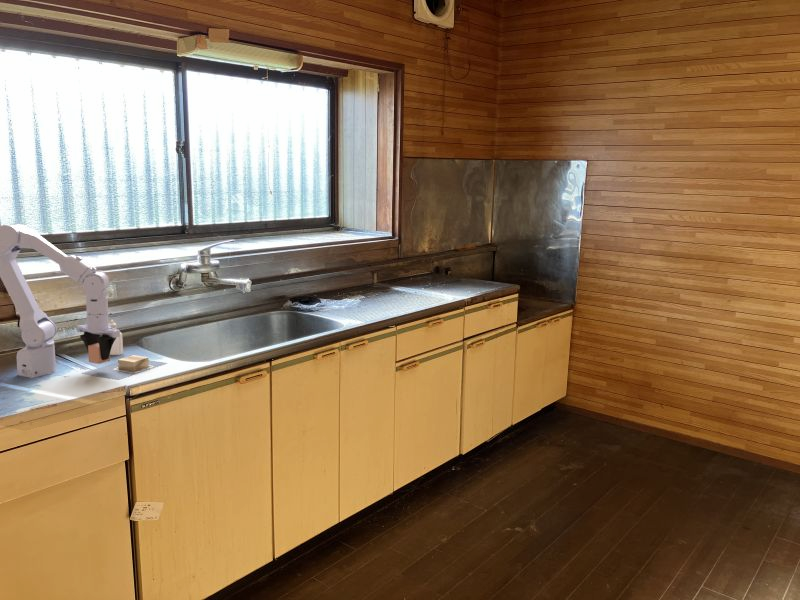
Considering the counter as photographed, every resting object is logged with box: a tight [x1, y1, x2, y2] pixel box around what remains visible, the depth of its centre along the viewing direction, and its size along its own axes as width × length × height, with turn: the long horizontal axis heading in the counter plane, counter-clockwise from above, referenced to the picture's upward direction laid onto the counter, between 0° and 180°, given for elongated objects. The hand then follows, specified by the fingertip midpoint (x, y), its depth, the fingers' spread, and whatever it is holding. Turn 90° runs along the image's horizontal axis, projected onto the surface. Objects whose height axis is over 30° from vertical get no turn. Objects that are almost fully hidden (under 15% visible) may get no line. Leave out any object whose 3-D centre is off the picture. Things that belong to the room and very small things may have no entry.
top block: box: [87, 343, 111, 365], centre depth 188 cm, size 4×4×5 cm
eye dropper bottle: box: [109, 319, 124, 356], centre depth 208 cm, size 4×6×12 cm
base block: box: [117, 354, 150, 372], centre depth 193 cm, size 6×6×3 cm
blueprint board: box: [81, 359, 168, 381], centre depth 193 cm, size 20×14×1 cm
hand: (99, 358), depth 188 cm, fingers closed on top block, 4 cm apart
